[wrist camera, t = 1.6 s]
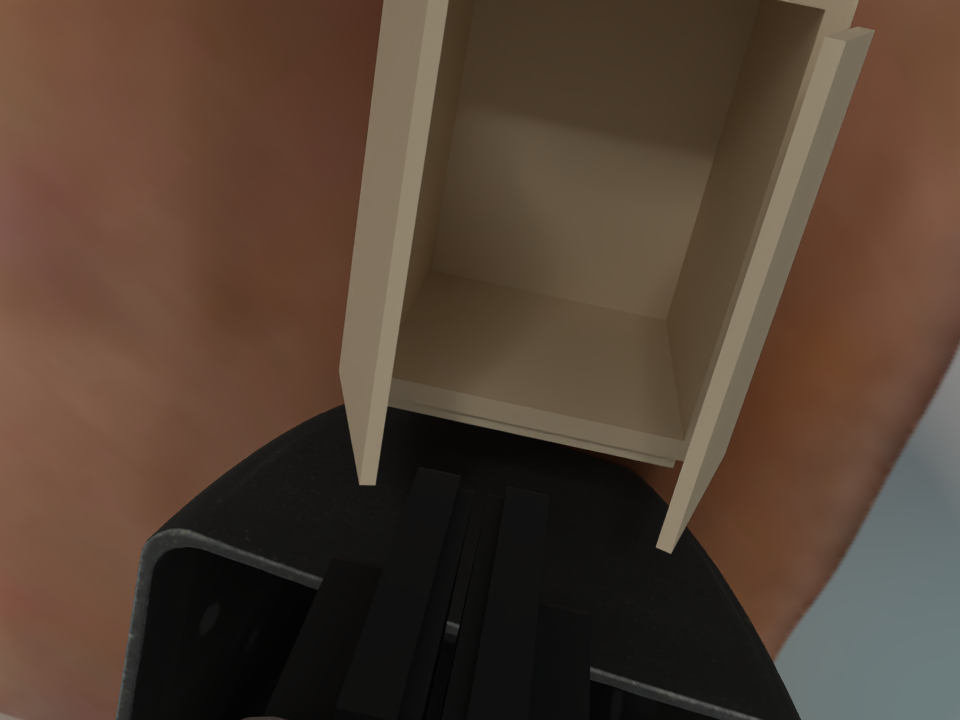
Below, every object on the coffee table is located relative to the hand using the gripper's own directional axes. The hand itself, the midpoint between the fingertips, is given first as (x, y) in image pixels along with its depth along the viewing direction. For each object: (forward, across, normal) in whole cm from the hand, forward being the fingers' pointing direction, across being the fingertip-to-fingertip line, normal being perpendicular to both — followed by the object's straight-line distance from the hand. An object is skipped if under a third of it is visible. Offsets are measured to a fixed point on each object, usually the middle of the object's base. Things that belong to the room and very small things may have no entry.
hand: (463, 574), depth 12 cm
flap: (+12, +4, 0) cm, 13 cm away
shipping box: (+26, -1, -1) cm, 26 cm away
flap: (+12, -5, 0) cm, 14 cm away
